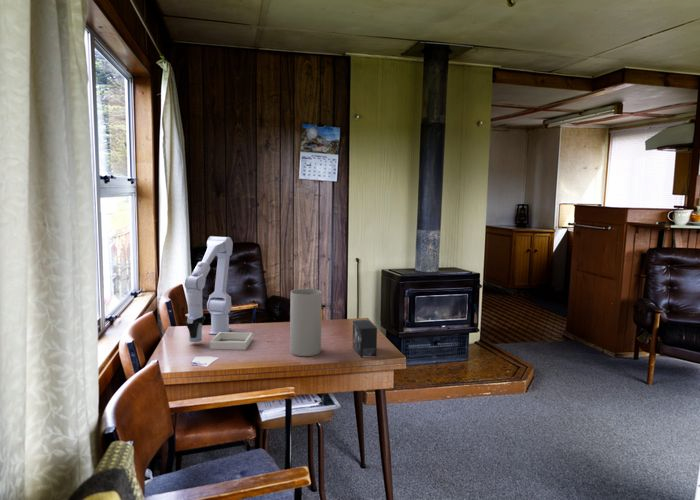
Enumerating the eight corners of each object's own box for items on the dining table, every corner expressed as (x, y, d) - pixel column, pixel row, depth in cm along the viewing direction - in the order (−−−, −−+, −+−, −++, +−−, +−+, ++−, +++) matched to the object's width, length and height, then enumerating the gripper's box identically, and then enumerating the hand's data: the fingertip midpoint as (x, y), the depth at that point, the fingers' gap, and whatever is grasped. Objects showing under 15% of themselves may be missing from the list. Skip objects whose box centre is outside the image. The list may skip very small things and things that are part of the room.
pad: (225, 341, 214) (225, 340, 214) (242, 341, 214) (242, 341, 214) (221, 346, 207) (221, 345, 207) (238, 346, 207) (238, 346, 207)
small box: (351, 347, 209) (352, 320, 208) (367, 346, 211) (368, 319, 210) (360, 357, 197) (361, 328, 196) (377, 356, 199) (377, 327, 197)
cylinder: (191, 338, 212) (191, 322, 211) (203, 338, 212) (203, 322, 211) (187, 342, 207) (187, 325, 206) (199, 342, 207) (199, 325, 206)
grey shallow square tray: (219, 338, 218) (219, 332, 218) (252, 339, 218) (252, 332, 218) (209, 348, 203) (209, 341, 203) (245, 349, 203) (245, 342, 203)
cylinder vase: (325, 354, 200) (327, 293, 197) (297, 358, 194) (298, 295, 191) (312, 345, 211) (313, 288, 208) (285, 349, 204) (285, 290, 202)
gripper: (191, 300, 215) (191, 330, 216) (179, 307, 200) (180, 340, 202) (207, 300, 215) (207, 331, 216) (197, 308, 200) (197, 341, 202)
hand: (195, 335), depth 209 cm, fingers closed on cylinder, 5 cm apart
